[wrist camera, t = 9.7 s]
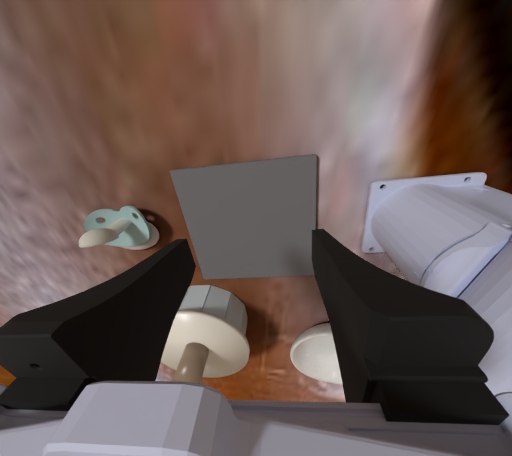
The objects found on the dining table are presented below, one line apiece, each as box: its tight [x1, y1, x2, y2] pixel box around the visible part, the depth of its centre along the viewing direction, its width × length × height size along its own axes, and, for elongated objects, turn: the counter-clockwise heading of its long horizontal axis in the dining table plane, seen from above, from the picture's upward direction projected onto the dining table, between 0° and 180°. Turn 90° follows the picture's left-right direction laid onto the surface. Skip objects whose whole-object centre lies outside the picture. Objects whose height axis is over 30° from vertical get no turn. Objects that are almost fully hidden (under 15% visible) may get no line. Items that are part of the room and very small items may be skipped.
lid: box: [161, 310, 250, 384], centre depth 25 cm, size 13×13×4 cm
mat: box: [170, 154, 317, 279], centre depth 23 cm, size 14×14×1 cm
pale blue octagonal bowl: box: [179, 285, 248, 336], centre depth 29 cm, size 11×11×5 cm
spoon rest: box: [290, 323, 343, 384], centre depth 28 cm, size 24×12×7 cm, turn 101°
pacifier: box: [79, 206, 159, 250], centre depth 22 cm, size 7×6×6 cm
